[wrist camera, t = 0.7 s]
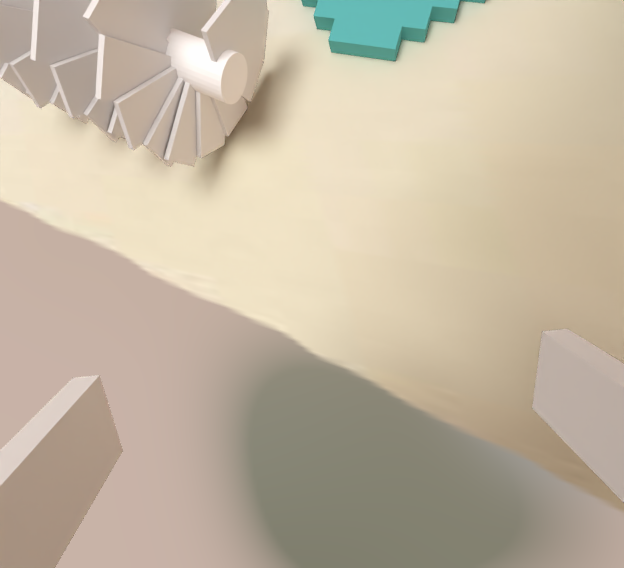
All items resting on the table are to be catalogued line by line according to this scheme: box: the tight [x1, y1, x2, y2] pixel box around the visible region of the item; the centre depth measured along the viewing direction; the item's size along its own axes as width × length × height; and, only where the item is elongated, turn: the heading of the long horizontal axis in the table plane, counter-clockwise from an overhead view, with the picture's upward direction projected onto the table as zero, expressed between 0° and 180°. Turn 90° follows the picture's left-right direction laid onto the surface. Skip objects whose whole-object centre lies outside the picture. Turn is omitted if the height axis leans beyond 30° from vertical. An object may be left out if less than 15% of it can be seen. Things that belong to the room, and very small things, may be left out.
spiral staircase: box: [0, 0, 269, 167], centre depth 33 cm, size 18×18×25 cm
